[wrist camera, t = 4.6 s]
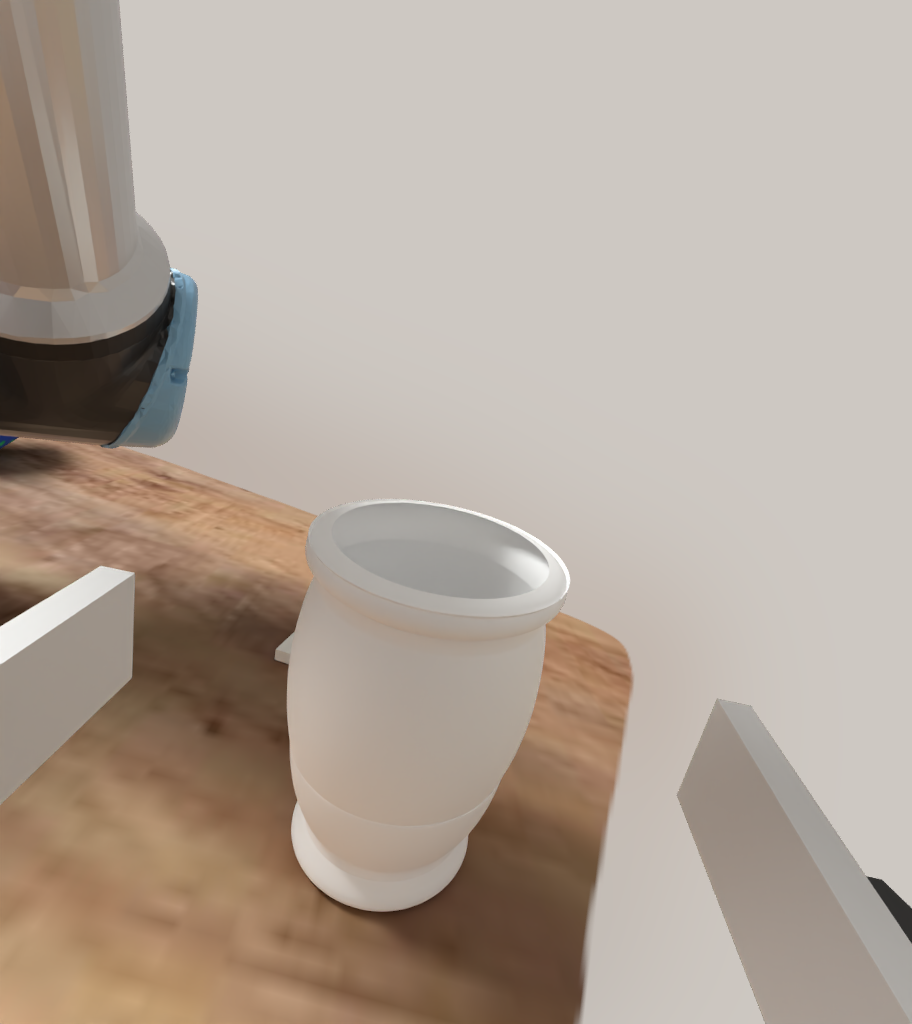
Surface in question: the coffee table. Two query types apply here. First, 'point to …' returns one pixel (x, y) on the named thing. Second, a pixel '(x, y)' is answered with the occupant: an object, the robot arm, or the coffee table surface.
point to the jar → (410, 690)
